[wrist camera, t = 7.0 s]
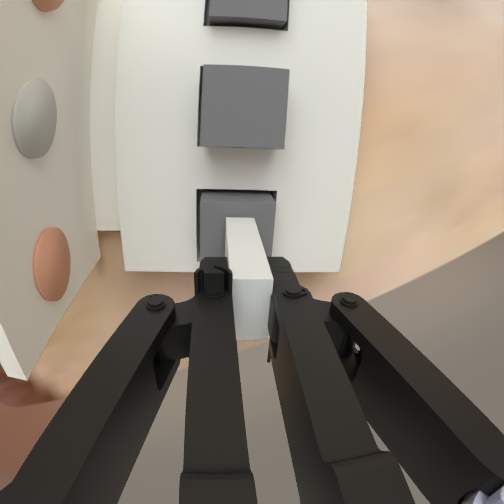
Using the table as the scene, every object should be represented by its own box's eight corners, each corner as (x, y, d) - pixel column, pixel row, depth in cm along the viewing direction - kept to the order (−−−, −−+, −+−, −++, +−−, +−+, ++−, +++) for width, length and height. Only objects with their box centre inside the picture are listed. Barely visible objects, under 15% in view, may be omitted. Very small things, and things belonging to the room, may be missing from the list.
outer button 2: (202, 188, 19) (200, 201, 16) (268, 189, 20) (276, 203, 17) (202, 248, 21) (200, 269, 18) (263, 248, 21) (270, 270, 19)
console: (140, -26, 14) (130, -43, 11) (348, -12, 15) (366, -26, 13) (135, 251, 22) (125, 271, 19) (325, 252, 24) (339, 271, 21)
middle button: (206, 71, 15) (203, 64, 13) (278, 75, 16) (289, 69, 13) (203, 140, 17) (200, 146, 14) (273, 143, 18) (284, 149, 15)
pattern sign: (67, -12, 13) (-42, -74, 1) (133, -25, 14) (58, -127, 2) (69, 250, 21) (-20, 368, 10) (128, 251, 22) (63, 387, 10)
